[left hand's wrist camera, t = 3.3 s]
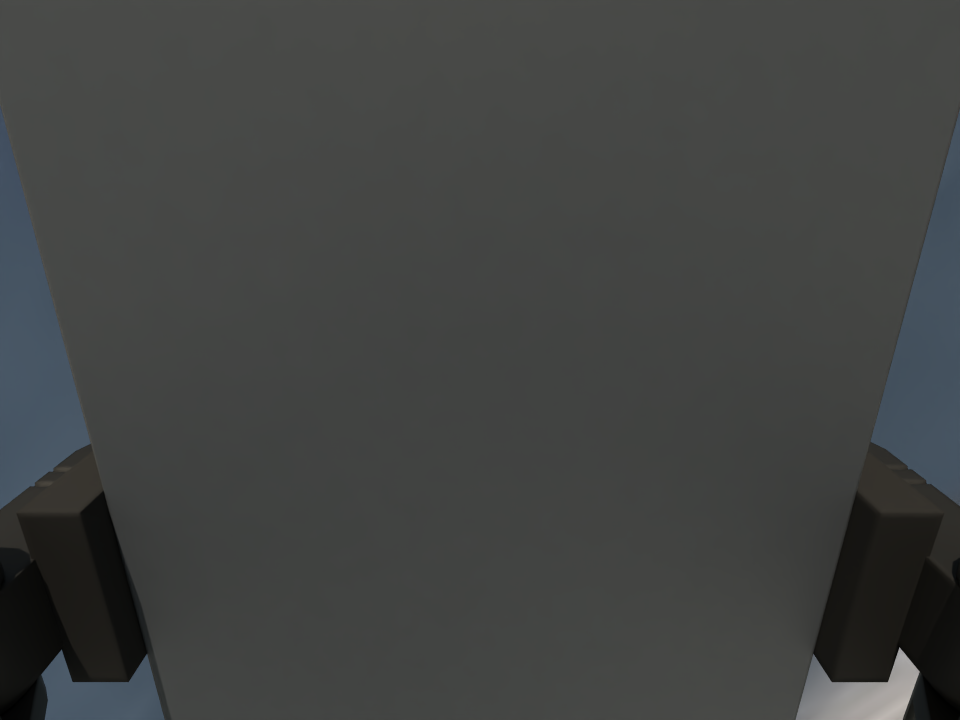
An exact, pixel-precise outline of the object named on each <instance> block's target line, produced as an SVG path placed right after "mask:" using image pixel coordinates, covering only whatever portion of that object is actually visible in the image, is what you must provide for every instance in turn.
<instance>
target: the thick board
mask: <svg viewBox="0 0 960 720" xmlns="http://www.w3.org/2000/svg"><path fill="white" fill-rule="evenodd" d="M0 105H1V109H2V113H3V117H4V120H5V124H6V128H7V132H8V135H9V139H10V143H11V146H12V150H13V154H14V158H15V161H16V165H17V169H18V173H19V176H20V180H21V184H22V188H23V191H24V195H25V199H26V203H27V206H28V210H29V214H30V217H31V221H32V225H33V229H34V232H35V236H36V240H37V244H38V247H39V251H40V255H41V259H42V262H43V266H44V270H45V274H46V277H47V281H48V285H49V288H50V292H51V296H52V300H53V303H54V307H55V311H56V315H57V318H58V322H59V326H60V330H61V333H62V337H63V341H64V345H65V348H66V352H67V356H68V359H69V363H70V367H71V371H72V374H73V378H74V382H75V386H76V389H77V393H78V397H79V401H80V404H81V408H82V412H83V416H84V419H85V423H86V427H87V430H88V434H89V438H90V442H91V445H92V449H93V453H94V457H95V460H96V464H97V468H98V472H99V475H100V479H101V483H102V487H103V490H104V494H105V498H106V501H107V505H108V509H109V513H110V516H111V520H112V524H113V528H114V531H115V535H116V539H117V543H118V546H119V550H120V554H121V558H122V561H123V565H124V569H125V572H126V576H127V580H128V584H129V587H130V591H131V595H132V599H133V602H134V606H135V610H136V614H137V617H138V621H139V625H140V629H141V632H142V636H143V640H144V643H145V647H146V651H147V655H148V658H149V662H150V666H151V670H152V673H153V677H154V681H155V685H156V688H157V692H158V696H159V700H160V703H161V707H162V711H163V714H164V718H165V720H795V719H796V716H797V712H798V708H799V704H800V701H801V697H802V693H803V689H804V686H805V682H806V678H807V675H808V671H809V667H810V663H811V660H812V656H813V652H814V649H815V645H816V641H817V637H818V634H819V630H820V626H821V623H822V619H823V615H824V611H825V608H826V604H827V600H828V597H829V593H830V589H831V585H832V582H833V578H834V574H835V571H836V567H837V563H838V559H839V556H840V552H841V548H842V544H843V541H844V537H845V533H846V530H847V526H848V522H849V518H850V515H851V511H852V507H853V504H854V500H855V496H856V492H857V489H858V485H859V481H860V478H861V474H862V470H863V466H864V463H865V459H866V455H867V452H868V448H869V444H870V440H871V437H872V433H873V429H874V426H875V422H876V418H877V414H878V411H879V407H880V403H881V399H882V396H883V392H884V388H885V385H886V381H887V377H888V373H889V370H890V366H891V362H892V359H893V355H894V351H895V347H896V344H897V340H898V336H899V333H900V329H901V325H902V321H903V318H904V314H905V310H906V307H907V303H908V299H909V295H910V292H911V288H912V284H913V281H914V277H915V273H916V269H917V266H918V262H919V258H920V254H921V251H922V247H923V243H924V240H925V236H926V232H927V228H928V225H929V221H930V217H931V214H932V210H933V206H934V202H935V199H936V195H937V191H938V188H939V184H940V180H941V176H942V173H943V169H944V165H945V162H946V158H947V154H948V150H949V147H950V143H951V139H952V136H953V132H954V128H955V124H956V121H957V117H958V113H959V109H960V0H0Z"/></svg>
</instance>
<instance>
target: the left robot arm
mask: <svg viewBox="0 0 960 720" xmlns="http://www.w3.org/2000/svg"><path fill="white" fill-rule="evenodd" d="M907 467H908V466H907V465H905V464H904V463H903V462H901V461H900V460H899V459H898V458H896V457H895V456H894V455H892V454H891V453H890V452H888V451H887V450H886V449H884V448H882V447H880V446H878V445H876V444H874V443H871V442H870V444H869V448H868V452H867V455H866V459H865V463H864V466H863V470H862V474H861V478H860V481H859V485H858V489H857V492H856V496H855V500H854V504H853V507H852V511H851V515H850V518H849V522H848V526H847V530H846V533H845V537H844V541H843V544H842V548H841V552H840V556H839V559H838V563H837V567H836V571H835V574H834V578H833V582H832V585H831V589H830V593H829V597H828V600H827V604H826V608H825V611H824V615H823V619H822V623H821V626H820V630H819V634H818V637H817V641H816V645H815V649H814V652H813V654H814V655H815V657H816V658H817V660H818V661H819V663H820V664H821V666H822V668H823V669H824V671H825V672H826V674H827V675H828V677H829V678H830V680H831V681H832V682H888V680H889V677H890V674H891V671H892V668H893V665H894V662H895V659H896V656H897V653H898V650H899V647H900V648H901V649H902V651H903V652H904V653H905V654H906V655H907V657H908V658H909V659H910V660H911V662H912V663H913V664H914V665H915V666H916V668H917V669H918V670H919V671H920V673H919V676H918V678H917V681H916V684H915V687H914V690H913V692H912V695H911V698H910V701H909V704H908V706H907V709H906V712H905V715H904V717H903V720H960V506H959V505H957V504H956V503H955V502H953V501H952V500H951V499H950V498H948V497H947V496H946V495H944V494H943V493H942V492H940V491H939V490H938V489H937V488H935V487H934V486H933V485H931V484H926V480H925V479H924V478H922V477H921V476H920V475H918V474H917V473H916V472H914V471H913V470H908V468H907ZM61 649H62V651H63V654H64V657H65V660H66V663H67V666H68V669H69V672H70V675H71V678H72V681H73V682H129V680H130V679H131V677H132V676H133V674H134V673H135V671H136V670H137V668H138V667H139V665H140V663H141V662H142V660H143V659H144V657H145V656H146V654H147V651H146V647H145V643H144V640H143V636H142V632H141V629H140V625H139V621H138V617H137V614H136V610H135V606H134V602H133V599H132V595H131V591H130V587H129V584H128V580H127V576H126V572H125V569H124V565H123V561H122V558H121V554H120V550H119V546H118V543H117V539H116V535H115V531H114V528H113V524H112V520H111V516H110V513H109V509H108V505H107V501H106V498H105V494H104V490H103V487H102V483H101V479H100V475H99V472H98V468H97V464H96V460H95V457H94V453H93V449H92V445H91V444H90V445H88V446H85V447H83V448H81V449H79V450H77V451H75V452H74V453H73V454H71V455H70V456H69V457H68V458H66V459H65V460H64V461H62V462H61V463H60V464H59V465H57V466H56V467H55V468H54V471H53V472H48V473H47V474H46V475H44V476H43V477H42V478H40V479H39V480H38V481H37V482H35V486H34V487H29V488H28V489H26V490H25V491H24V492H22V493H21V494H20V495H19V496H17V497H16V498H15V499H13V500H12V501H11V502H10V503H8V504H7V505H6V506H4V507H3V508H2V509H1V510H0V720H45V714H46V708H47V702H48V699H47V692H46V687H45V684H44V681H43V678H42V676H41V674H42V673H43V671H44V670H45V669H46V668H47V667H48V665H49V664H50V663H51V662H52V660H53V659H54V658H55V657H56V656H57V654H58V653H59V652H60V651H61Z"/></svg>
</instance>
